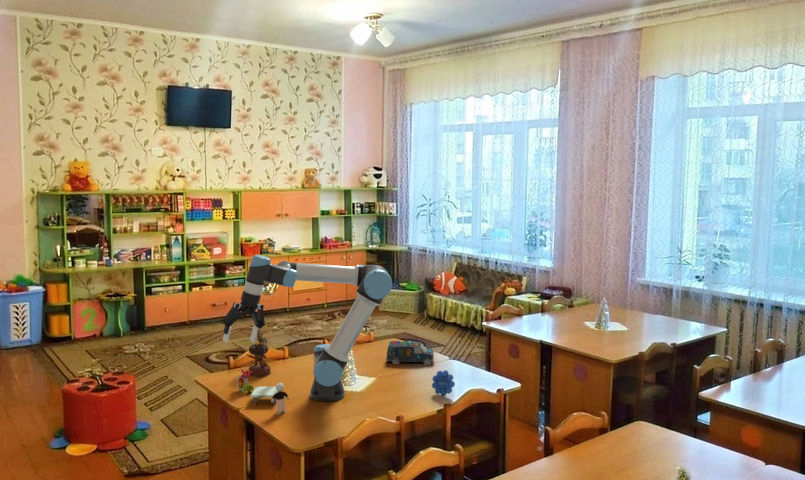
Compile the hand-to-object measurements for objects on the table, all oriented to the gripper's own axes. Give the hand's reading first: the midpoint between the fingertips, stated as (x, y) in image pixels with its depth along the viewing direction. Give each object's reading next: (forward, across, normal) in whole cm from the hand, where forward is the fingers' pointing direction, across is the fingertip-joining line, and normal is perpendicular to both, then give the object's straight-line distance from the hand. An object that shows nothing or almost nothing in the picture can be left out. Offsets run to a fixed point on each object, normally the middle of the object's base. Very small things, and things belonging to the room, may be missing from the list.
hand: (238, 341), depth 272 cm
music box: (+28, -40, -28) cm, 56 cm away
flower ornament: (+29, -20, -12) cm, 37 cm away
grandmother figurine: (+24, -15, +20) cm, 34 cm away
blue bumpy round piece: (+4, -75, +55) cm, 93 cm away
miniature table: (+26, -20, +4) cm, 33 cm away
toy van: (+7, -103, +12) cm, 104 cm away
